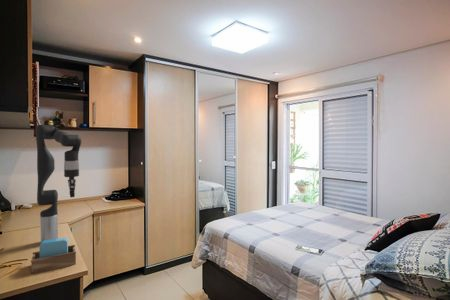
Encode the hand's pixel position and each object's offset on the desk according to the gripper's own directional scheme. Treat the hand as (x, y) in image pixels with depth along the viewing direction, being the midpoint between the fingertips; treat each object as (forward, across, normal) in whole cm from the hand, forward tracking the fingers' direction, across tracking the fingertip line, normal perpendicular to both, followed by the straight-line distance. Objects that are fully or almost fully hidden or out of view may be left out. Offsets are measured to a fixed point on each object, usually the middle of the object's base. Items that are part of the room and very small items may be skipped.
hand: (72, 195), depth 156 cm
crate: (+32, +17, -9) cm, 37 cm away
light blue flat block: (+32, +17, -9) cm, 37 cm away
